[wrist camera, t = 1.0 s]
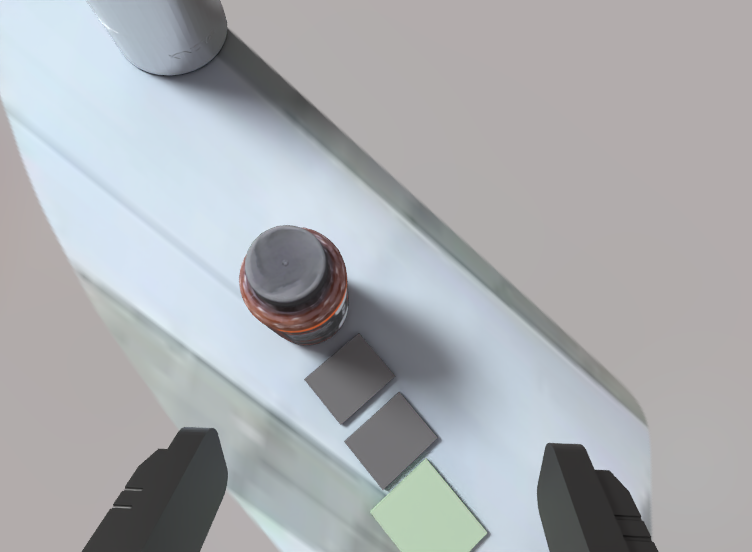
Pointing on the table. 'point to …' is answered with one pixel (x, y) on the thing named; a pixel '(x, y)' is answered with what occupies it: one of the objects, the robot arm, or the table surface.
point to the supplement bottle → (295, 284)
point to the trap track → (395, 455)
